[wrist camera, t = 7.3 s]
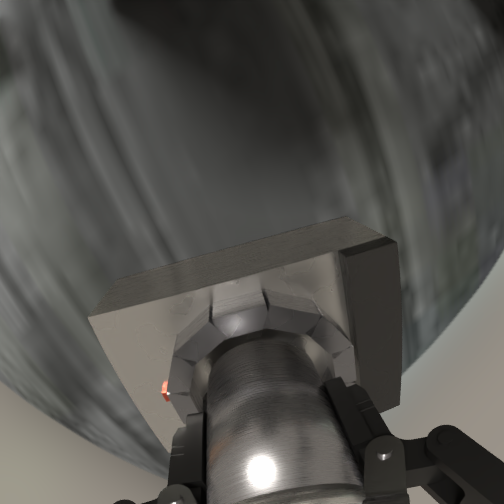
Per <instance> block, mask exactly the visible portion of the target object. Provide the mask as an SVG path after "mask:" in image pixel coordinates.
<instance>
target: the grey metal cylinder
mask: <svg viewBox="0 0 504 504" xmlns="http://www.w3.org/2000/svg"><path fill="white" fill-rule="evenodd" d="M206 476H207V504H362V503H363V500H364V499H365V498H366V495H365V492H364V490H363V488H364V476H363V474H362V472H361V469H360V467H359V465H358V463H357V460H356V458H355V456H354V454H353V452H352V449H351V447H350V445H349V443H348V440H347V438H346V436H345V433H344V431H343V429H342V427H341V424H340V422H339V420H338V418H337V415H336V413H335V411H334V408H333V406H332V404H331V402H330V399H329V397H328V395H327V393H326V390H325V388H324V386H323V383H322V381H321V379H320V377H319V374H318V372H317V370H316V368H315V365H314V363H313V361H312V359H311V358H310V357H309V355H308V354H307V353H306V352H305V351H303V350H302V349H301V348H299V347H297V346H295V345H293V344H291V343H288V342H284V341H280V340H256V341H252V342H248V343H244V344H241V345H239V346H237V347H235V348H233V349H231V350H229V351H228V352H226V353H225V354H224V355H222V356H221V357H220V358H219V359H218V360H217V362H216V363H215V364H214V366H213V367H212V369H211V371H210V374H209V377H208V393H207V460H206Z"/></svg>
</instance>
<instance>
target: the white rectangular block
mask: <svg viewBox="0 0 504 504" xmlns="http://www.w3.org/2000/svg"><path fill="white" fill-rule="evenodd" d="M88 319H89V321H90V324H91V326H92V328H93V330H94V332H95V334H96V336H97V338H98V340H99V342H100V344H101V346H102V347H103V349H104V351H105V353H106V355H107V357H108V359H109V361H110V362H111V364H112V366H113V368H114V369H115V371H116V373H117V375H118V377H119V378H120V380H121V382H122V383H123V385H124V387H125V388H126V390H127V392H128V393H129V395H130V397H131V398H132V400H133V401H134V403H135V405H136V406H137V408H138V409H139V411H140V412H141V414H142V415H143V417H144V418H145V420H146V421H147V423H148V424H149V426H150V427H151V429H152V430H153V432H154V433H155V434H156V436H157V437H158V439H159V440H160V442H161V443H162V444H163V446H164V447H165V448H166V450H167V451H168V452H169V453H170V452H171V449H172V440H173V436H174V434H175V433H176V431H177V429H178V428H180V427H186V418H187V415H188V414H193V413H199V412H206V413H207V393H208V377H209V374H210V371H211V369H212V367H213V366H214V364H215V363H216V362H217V360H218V359H219V358H220V357H221V356H222V355H224V354H225V353H226V352H228V351H229V350H231V349H233V348H235V347H237V346H239V345H241V344H244V343H248V342H252V341H256V340H280V341H284V342H288V343H291V344H293V345H295V346H297V347H299V348H301V349H302V350H303V351H305V352H306V353H307V354H308V355H309V357H310V358H311V359H312V361H313V363H314V365H315V368H316V370H317V372H318V374H319V377H320V379H321V381H322V383H323V382H325V381H328V380H331V379H334V378H337V377H341V378H342V379H343V381H344V383H345V385H346V387H348V386H351V385H353V384H357V385H359V386H360V387H362V388H363V389H365V390H366V392H367V393H368V395H369V397H370V399H371V400H372V402H373V404H374V405H375V407H376V409H377V410H378V412H379V413H382V412H384V411H386V410H389V409H391V408H394V407H396V406H398V405H400V390H401V369H402V307H401V285H400V270H399V257H398V247H397V242H396V241H394V240H392V239H390V238H388V237H386V236H384V235H382V234H380V233H378V232H376V231H374V230H372V229H370V228H368V227H366V226H364V225H362V224H360V223H358V222H356V221H354V220H352V219H350V218H348V217H346V216H345V217H341V218H337V219H333V220H330V221H326V222H322V223H318V224H315V225H311V226H307V227H304V228H300V229H296V230H292V231H289V232H285V233H281V234H278V235H274V236H270V237H267V238H263V239H259V240H256V241H252V242H248V243H245V244H241V245H237V246H234V247H230V248H226V249H223V250H219V251H216V252H212V253H208V254H205V255H201V256H198V257H194V258H190V259H187V260H183V261H180V262H176V263H172V264H169V265H165V266H162V267H158V268H155V269H151V270H148V271H144V272H141V273H137V274H133V275H130V276H126V277H123V278H119V279H117V280H116V282H115V283H114V284H113V285H112V287H111V288H110V289H109V290H108V292H107V293H106V294H105V295H104V297H103V298H102V299H101V301H100V302H99V303H98V304H97V306H96V307H95V308H94V310H93V311H92V312H91V314H90V315H89V316H88ZM323 386H324V385H323Z"/></svg>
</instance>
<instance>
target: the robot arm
mask: <svg viewBox="0 0 504 504" xmlns="http://www.w3.org/2000/svg"><path fill="white" fill-rule="evenodd" d="M323 385H324V388H325V390H326V393H327V395H328V397H329V399H330V402H331V404H332V406H333V408H334V411H335V413H336V415H337V418H338V420H339V422H340V424H341V427H342V429H343V431H344V433H345V436H346V438H347V440H348V443H349V445H350V447H351V449H352V452H353V454H354V456H355V458H356V460H357V463H358V465H359V467H360V469H361V472H362V474H363V476H364V488H363V490H364V492H365V495H366V498H365V499H364V500H363V503H362V504H410V501H409V495H408V494H407V488H411V487H416V486H421V487H422V488H423V489H424V490H425V491H427V492H428V494H430V495H431V496H432V497H433V498H434V499H435V500H436V501H437V502H438V503H439V504H504V463H503V462H502V461H501V460H500V459H498V458H497V457H496V456H494V455H493V454H491V453H490V452H489V451H487V450H486V449H485V448H483V447H482V446H481V445H479V444H478V443H477V442H475V441H474V440H473V439H471V438H470V437H469V436H467V435H466V434H465V433H463V432H462V431H461V430H459V429H458V428H456V427H455V426H451V425H442V426H438V427H436V428H434V429H433V430H432V431H431V432H430V433H429V434H428V436H427V437H424V438H418V439H413V440H403V439H399V438H397V437H395V436H394V435H393V434H391V432H390V431H389V429H388V427H387V426H386V424H385V422H384V421H383V419H382V417H381V415H380V414H379V412H378V410H377V409H376V407H375V405H374V404H373V402H372V400H371V399H370V397H369V395H368V393H367V392H366V390H365V389H363V388H362V387H360V386H359V385H357V384H353V385H351V386H348V387H346V385H345V383H344V381H343V379H342V378H341V377H337V378H334V379H331V380H328V381H325V382H323ZM206 460H207V413H206V412H199V413H193V414H188V415H187V418H186V427H180V428H178V429H177V431H176V433H175V434H174V436H173V440H172V449H171V457H170V467H169V476H168V485H167V487H166V488H164V489H163V490H162V491H161V492H160V494H159V496H158V498H157V499H155V500H152V501H149V502H146V503H142V504H207V476H206ZM114 504H135V503H134V502H133V501H130V500H120V501H117V502H115V503H114Z"/></svg>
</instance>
